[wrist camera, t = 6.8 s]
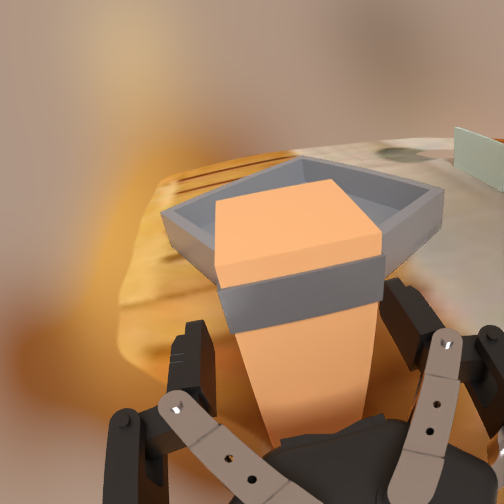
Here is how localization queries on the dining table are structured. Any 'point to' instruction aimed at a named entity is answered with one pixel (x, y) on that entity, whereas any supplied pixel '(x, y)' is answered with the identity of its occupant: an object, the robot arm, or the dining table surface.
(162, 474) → the robot arm
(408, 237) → the walled box
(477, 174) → the l-shaped corner panel
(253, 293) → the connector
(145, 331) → the dining table surface
